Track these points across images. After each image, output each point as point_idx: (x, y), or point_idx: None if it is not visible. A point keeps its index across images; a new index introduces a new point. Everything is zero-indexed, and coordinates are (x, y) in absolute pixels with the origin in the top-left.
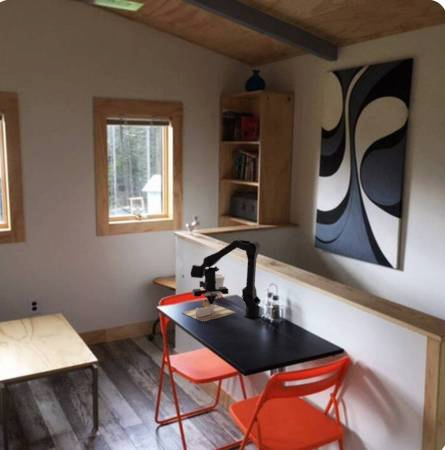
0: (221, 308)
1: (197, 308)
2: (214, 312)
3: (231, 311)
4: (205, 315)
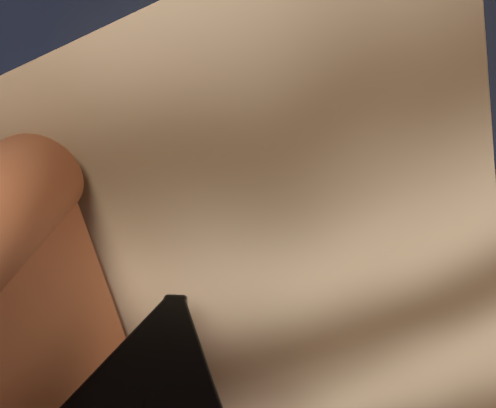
0: (430, 237)
1: None
2: None
3: (483, 382)
4: None
